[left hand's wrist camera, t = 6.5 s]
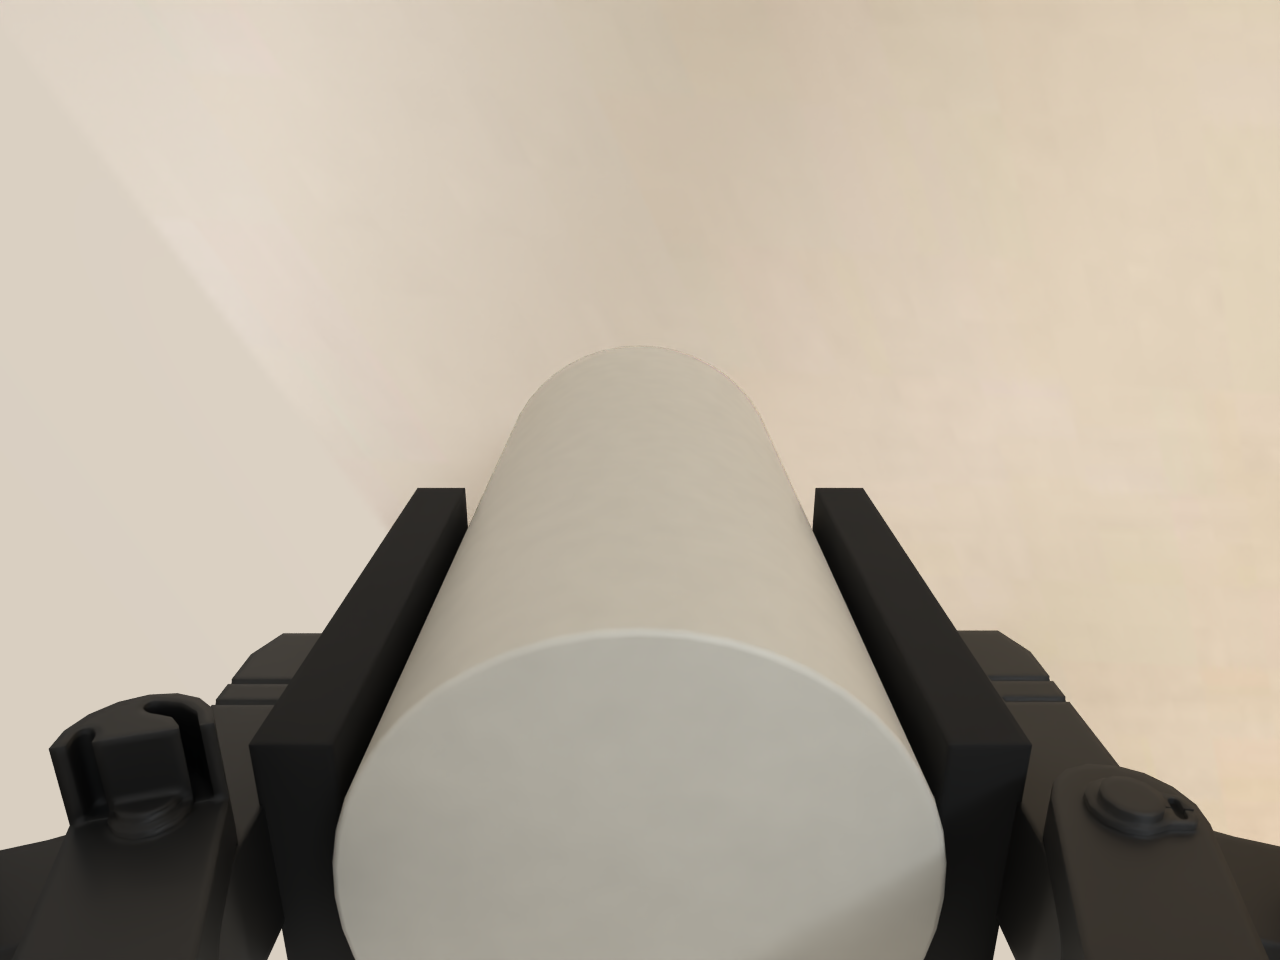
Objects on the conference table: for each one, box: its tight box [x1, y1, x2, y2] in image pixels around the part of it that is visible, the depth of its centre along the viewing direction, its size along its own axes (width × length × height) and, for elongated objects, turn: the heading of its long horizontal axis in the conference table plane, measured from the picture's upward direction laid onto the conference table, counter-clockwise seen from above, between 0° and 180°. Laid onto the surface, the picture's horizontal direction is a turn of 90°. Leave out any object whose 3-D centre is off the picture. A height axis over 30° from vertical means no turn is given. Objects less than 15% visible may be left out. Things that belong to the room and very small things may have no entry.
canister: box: [332, 346, 946, 960], centre depth 13 cm, size 6×6×11 cm
